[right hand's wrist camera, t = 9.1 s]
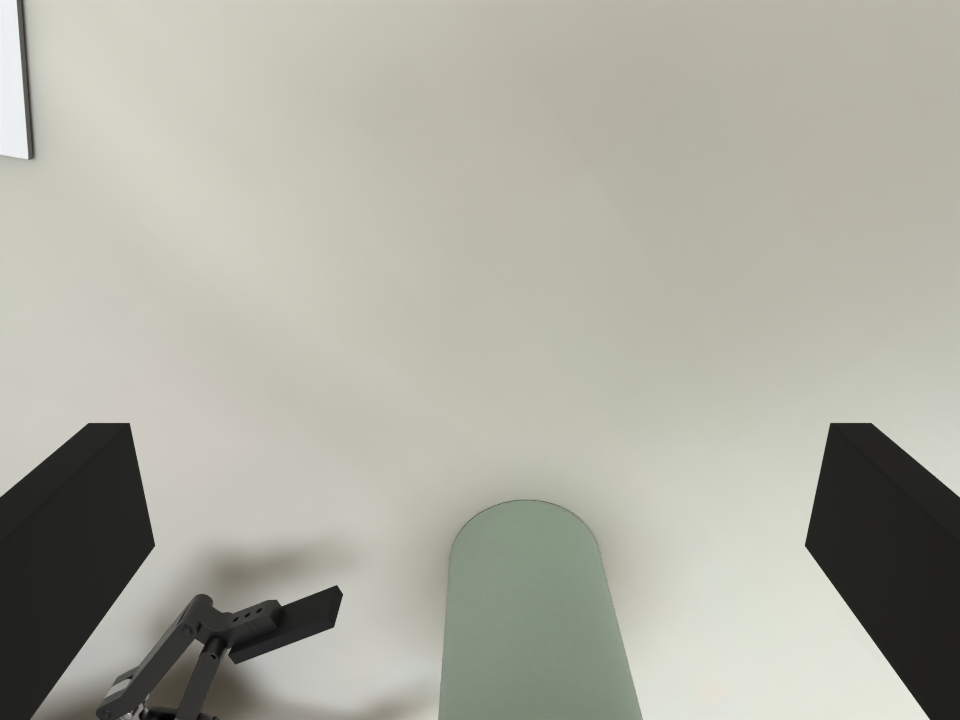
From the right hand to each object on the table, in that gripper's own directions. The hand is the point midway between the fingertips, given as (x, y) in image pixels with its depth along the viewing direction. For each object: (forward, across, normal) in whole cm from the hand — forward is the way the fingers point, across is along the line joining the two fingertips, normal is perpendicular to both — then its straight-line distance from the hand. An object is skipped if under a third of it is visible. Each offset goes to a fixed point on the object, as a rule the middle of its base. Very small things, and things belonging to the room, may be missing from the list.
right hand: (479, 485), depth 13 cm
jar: (+26, -3, +23) cm, 35 cm away
